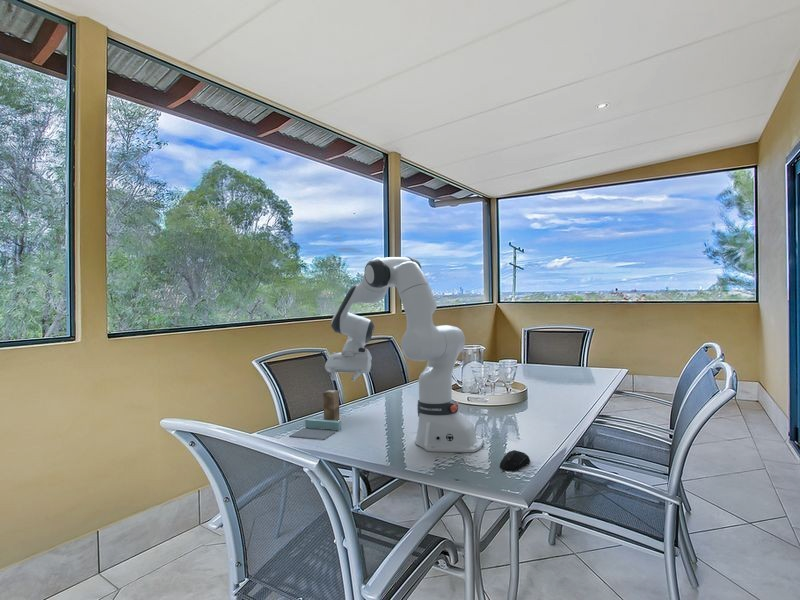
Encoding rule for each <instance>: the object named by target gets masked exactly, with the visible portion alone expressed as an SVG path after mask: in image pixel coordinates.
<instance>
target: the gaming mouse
mask: <svg viewBox="0 0 800 600" xmlns="http://www.w3.org/2000/svg"><path fill="white" fill-rule="evenodd" d="M529 462H530V463H531V459H530V456H529V455H527V454H526V453H525V452H522V451H519V450H510V451H508V452H507V453H505V455H504V456H503V458H502V459H501V461H500V463H499V469H501V470H502V471H501V474H502V473H505V472H506V471H507V472H516V471H519V470H521V469H522V467H523V468H524V467H526V466H528V465H529V464H530V463H529ZM527 464H528V465H527Z"/></svg>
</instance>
